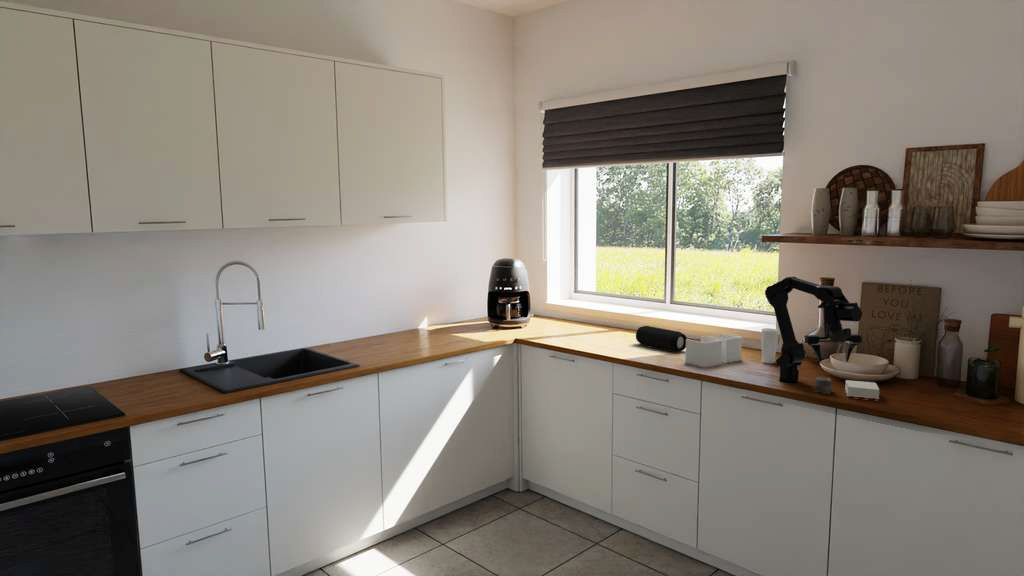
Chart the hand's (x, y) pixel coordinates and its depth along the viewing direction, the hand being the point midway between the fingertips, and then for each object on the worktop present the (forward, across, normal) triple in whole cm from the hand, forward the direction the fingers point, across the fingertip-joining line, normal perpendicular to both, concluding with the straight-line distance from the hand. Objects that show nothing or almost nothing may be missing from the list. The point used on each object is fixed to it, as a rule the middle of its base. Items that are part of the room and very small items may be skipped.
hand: (833, 362), depth 240 cm
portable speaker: (+2, -60, +70) cm, 92 cm away
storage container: (+6, -38, +46) cm, 60 cm away
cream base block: (+13, +9, 0) cm, 16 cm away
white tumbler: (+7, -14, +48) cm, 50 cm away
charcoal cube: (+12, -4, +3) cm, 12 cm away
